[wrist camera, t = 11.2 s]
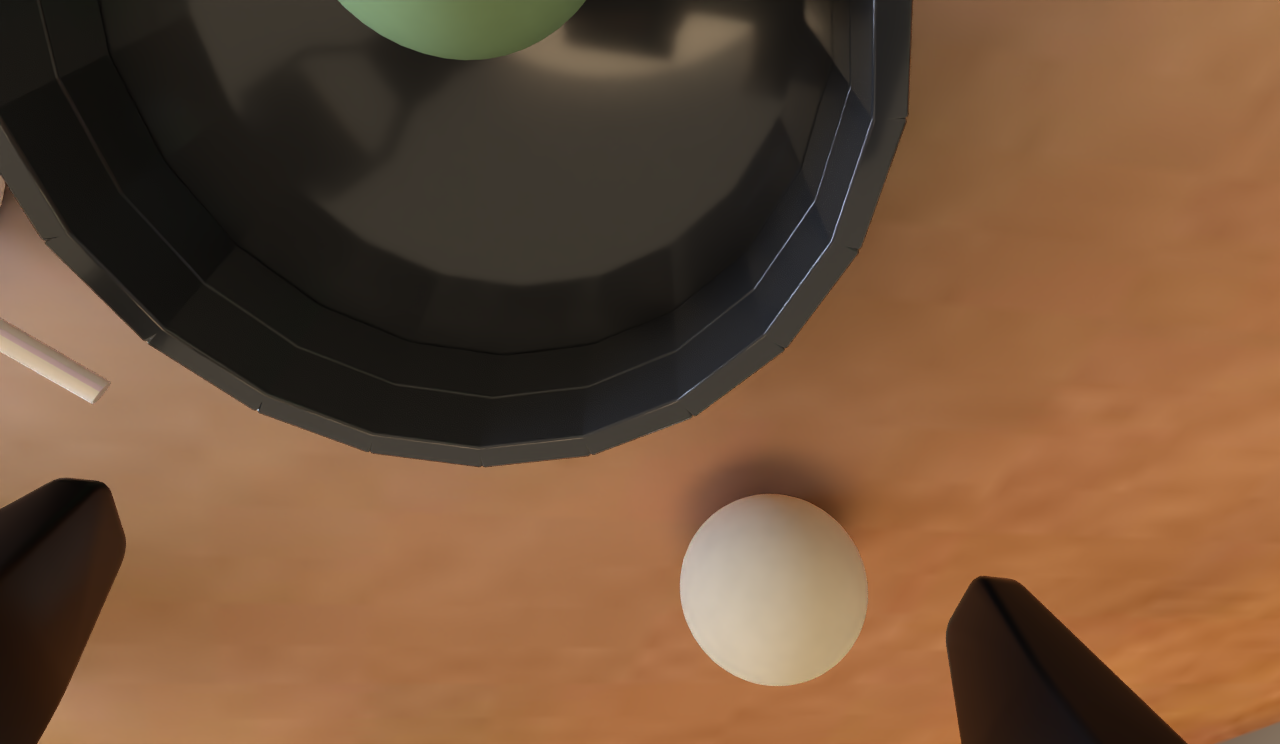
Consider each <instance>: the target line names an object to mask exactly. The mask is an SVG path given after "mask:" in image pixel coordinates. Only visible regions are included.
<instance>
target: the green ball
mask: <svg viewBox="0 0 1280 744" xmlns="http://www.w3.org/2000/svg"><path fill="white" fill-rule="evenodd" d="M338 1H339V2H340V3H341V4H342V5H343V6H344V7H345V8H346V9H347V10H348V11H349V12H351V13H352V14H353V15H354V16H355V17H356V18H358V19H359V20H360V21H361V22H362V23H364V24H365V25H367V26H368V27H370V28H371V29H373V30H374V31H376V32H377V33H379V34H380V35H382V36H384V37H386V38H388V39H390V40H392V41H394V42H395V43H397V44H399V45H401V46H404V47H407V48H410V49H412V50H415V51H418V52H421V53H424V54H428V55H432V56H437V57H441V58H446V59H457V60H481V59H490V58H495V57H500V56H506V55H509V54H512V53H514V52H517V51H520V50H523V49H526V48H528V47H530V46H532V45H534V44H535V43H537V42H539V41H541V40H543V39H545V38H546V37H547V36H549V35H550V34H552V33H553V32H555V31H556V30H557V29H559V28H560V27H561V26H562V25H563V24H564V23H565V22H566V21H568V20H569V19H570V18H571V17H572V16H573V15H574V14H575V13H576V12H577V11H578V10H579V8H580V7H581V6H582V5H583V3H584V2H585V1H586V0H338Z"/></svg>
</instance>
